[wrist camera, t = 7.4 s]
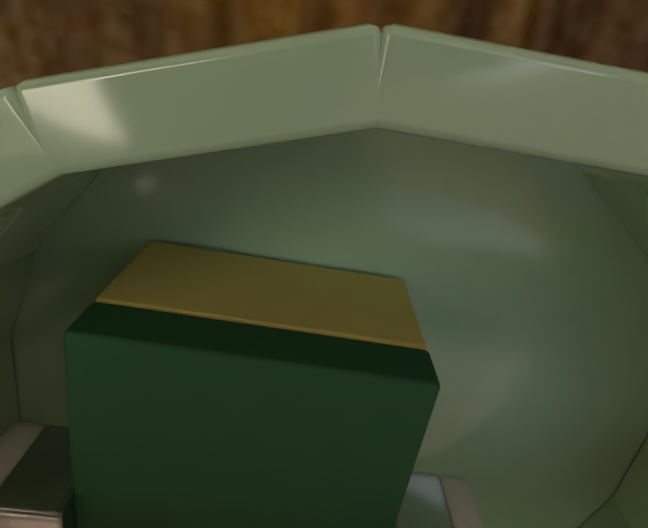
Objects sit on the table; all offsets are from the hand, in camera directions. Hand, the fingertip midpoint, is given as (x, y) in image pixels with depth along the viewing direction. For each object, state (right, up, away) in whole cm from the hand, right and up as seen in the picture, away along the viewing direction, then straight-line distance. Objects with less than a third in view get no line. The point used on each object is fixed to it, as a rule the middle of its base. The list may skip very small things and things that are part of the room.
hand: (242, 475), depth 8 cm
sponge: (0, +1, +1) cm, 2 cm away
